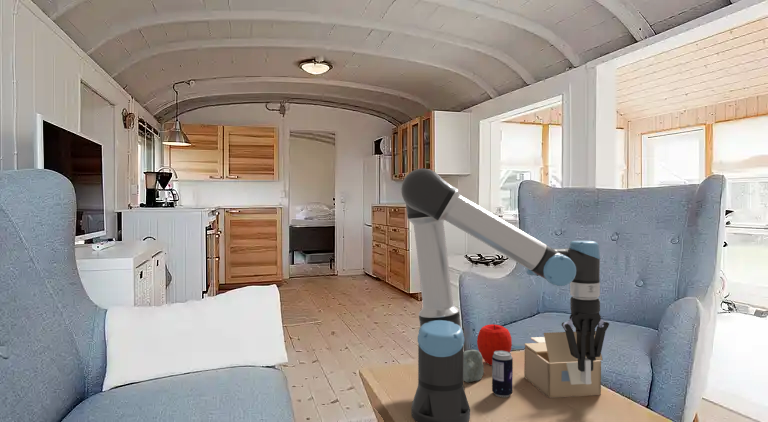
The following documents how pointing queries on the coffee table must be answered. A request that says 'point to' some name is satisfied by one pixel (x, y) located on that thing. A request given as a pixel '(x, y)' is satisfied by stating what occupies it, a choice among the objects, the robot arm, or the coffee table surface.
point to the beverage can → (502, 373)
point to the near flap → (564, 354)
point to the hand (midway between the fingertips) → (585, 382)
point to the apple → (493, 341)
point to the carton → (558, 376)
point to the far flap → (537, 345)
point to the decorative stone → (472, 365)
